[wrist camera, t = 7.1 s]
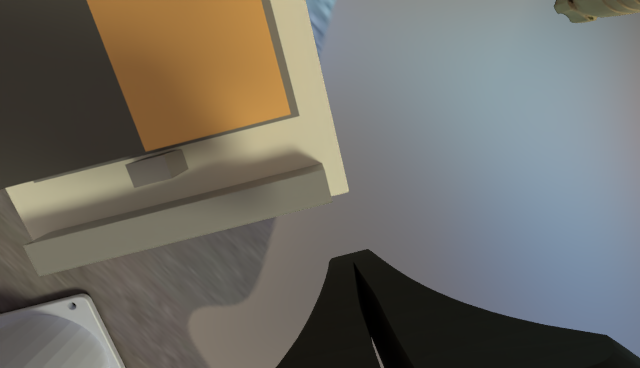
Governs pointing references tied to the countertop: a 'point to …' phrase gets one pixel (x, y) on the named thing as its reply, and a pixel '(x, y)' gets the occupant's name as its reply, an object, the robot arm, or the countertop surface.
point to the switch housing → (196, 173)
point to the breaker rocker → (127, 79)
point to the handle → (595, 9)
